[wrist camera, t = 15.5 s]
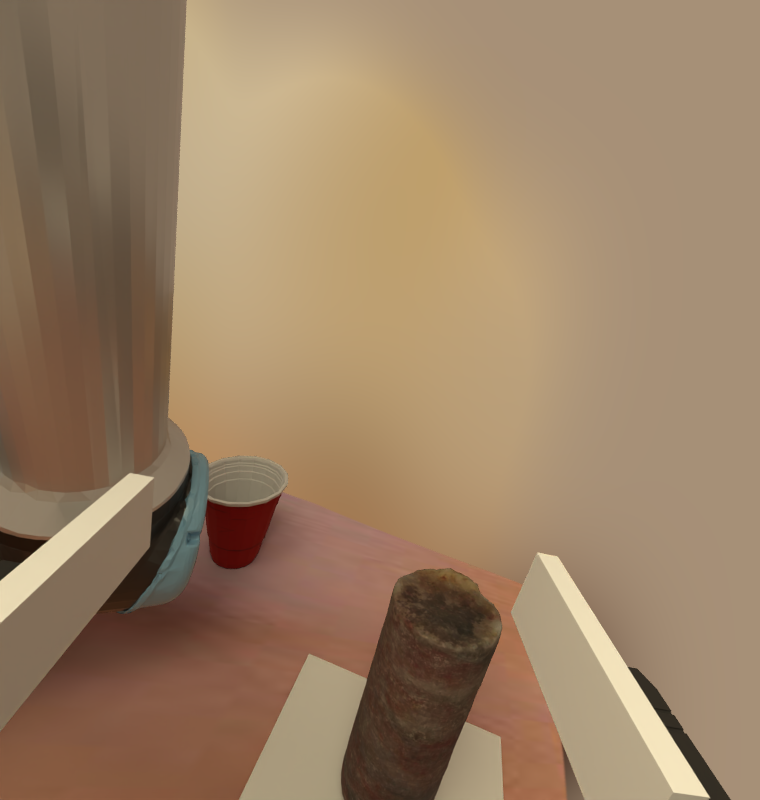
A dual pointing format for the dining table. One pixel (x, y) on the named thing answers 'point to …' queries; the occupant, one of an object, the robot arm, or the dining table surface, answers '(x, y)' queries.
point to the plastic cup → (241, 507)
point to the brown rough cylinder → (419, 686)
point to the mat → (328, 738)
